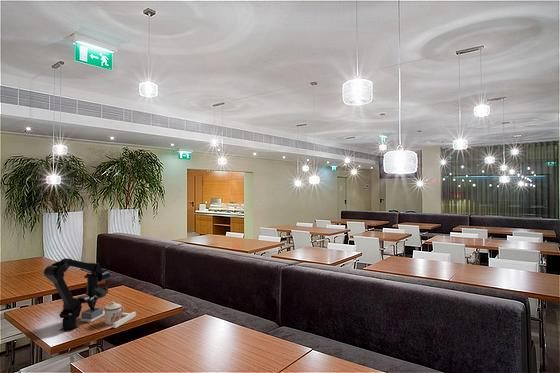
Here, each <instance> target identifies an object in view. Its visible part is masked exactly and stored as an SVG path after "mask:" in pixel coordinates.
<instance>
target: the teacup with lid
mask: <svg viewBox="0 0 560 373" xmlns="http://www.w3.org/2000/svg"><path fill="white" fill-rule="evenodd" d="M124 307H125V306H122V304H121V303H116V302H115V301H111V302H110V303H109V304H107V305H105V306H104V307H103V310H104V311H105V315H104V324H105V325H109V326H111V325H113V323H115V322H117V321H118V320H120V319H122V316H121V314H122V313H124V311H125V308H124Z"/></svg>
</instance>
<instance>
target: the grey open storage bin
mask: <svg viewBox="0 0 560 373" xmlns="http://www.w3.org/2000/svg"><path fill="white" fill-rule="evenodd" d="M80 314H81V316H80V322H86V323H87V322H89V323H91V322H93V321H96V320H98V319H100V318H102V317H104V316H105V310H104V307H94V309H93V310H91V309H90V308H87V309H86V310H84V311H82V312H80ZM135 317H137V311H132V312H130V313H129V312H123V313H122V314H121V319H120V320H118V321H117V322H115V323H113V324H112V325H113V326H112V328H114V329H116V328H118V327H120V326H121V325H123V324H125V323H126V322H128V321H130V320H132V319H133V318H135Z"/></svg>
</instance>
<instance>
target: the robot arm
mask: <svg viewBox="0 0 560 373" xmlns="http://www.w3.org/2000/svg"><path fill="white" fill-rule="evenodd" d="M69 268H76V269H80V270H83V271H84V272H86V274H85V275H84V277H83V278H84V279H87V280H86V285H85V289H86V292H85V293H84V294H85V295H81V296H77V297H74V296H73V294H72V292H71V290H70V288H69V287H68V285H67V282H66V281H65V279H64V277H65V272H67V270H68V269H69ZM43 275H44V276H45V277H46V279H47V280H48V281H50V282H51V283H52V284H53V285H54V287H55V289H56V290H57V293H58V294H59V297H60V299H61V300H62V302H63V303H62V310H61V311H60V313H59V314H58V317H59V318H60V319H62V327H61V328H60V329H59V331H65V332H71V331H73V330H75V329H77V328H79V327H80V326H79V325H78V323H77V322H78V320H77V319H78V318H79V317H80V314H81V311H82V308H83V304H87V306H88V307H89V309H91V310H93V309H94V307H95V306H96V304H97V301H98V300H99V299H102V298H103V297H104V298H105V297H106V296H107V294H108V293H109V287H108V286H105V287H102V288H101V286H100V284H99V283H100V282H103V281H107V280H109V279H110V276H111V274H110V272H109V271H108V269H107V268H103V269H102V267H101V265H100V263H98V262H97V263H96V262H84V261H80V260H76V259H72V258H66V257H64V258H61V259H60V260H59V261H56V262H54V263H52V264H50V265H48V266H46V267H45V268H44V271H43Z"/></svg>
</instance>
